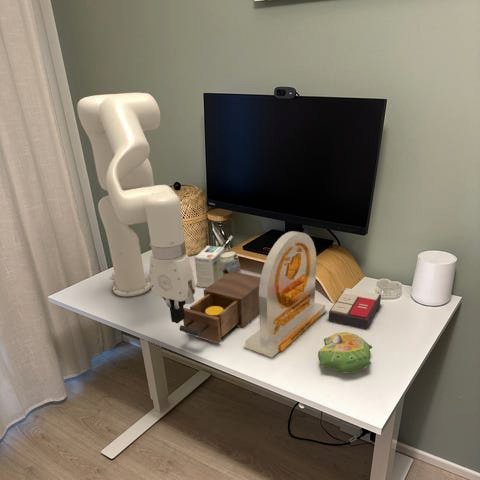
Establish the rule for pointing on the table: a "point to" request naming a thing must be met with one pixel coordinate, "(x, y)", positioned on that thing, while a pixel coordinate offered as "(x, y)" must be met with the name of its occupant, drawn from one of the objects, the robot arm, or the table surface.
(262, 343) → the award
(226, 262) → the beverage can
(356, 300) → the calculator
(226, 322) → the drawer
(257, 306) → the cabinet
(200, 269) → the light bulb box
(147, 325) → the table surface
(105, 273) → the table surface
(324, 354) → the educational model
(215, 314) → the jar
